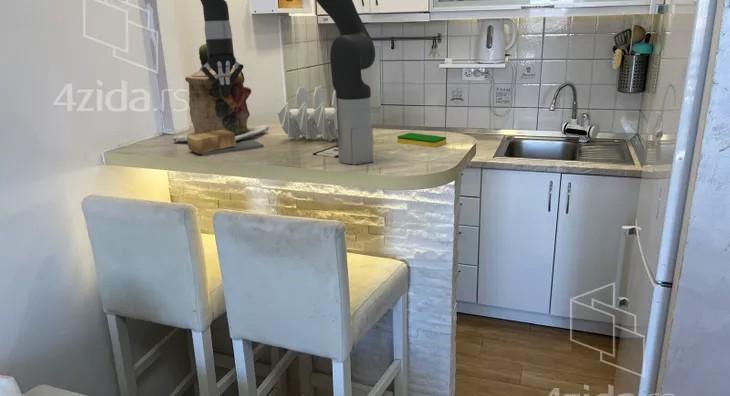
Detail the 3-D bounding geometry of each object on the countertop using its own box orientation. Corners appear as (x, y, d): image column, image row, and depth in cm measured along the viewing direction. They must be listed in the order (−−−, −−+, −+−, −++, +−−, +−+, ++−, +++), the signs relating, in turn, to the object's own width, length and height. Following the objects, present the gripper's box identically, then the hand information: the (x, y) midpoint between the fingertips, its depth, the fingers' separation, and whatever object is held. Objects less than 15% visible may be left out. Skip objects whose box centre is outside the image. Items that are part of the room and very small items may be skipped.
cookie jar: (169, 142, 179) (155, 40, 170) (212, 129, 201) (201, 39, 192) (235, 144, 171) (224, 37, 162) (272, 130, 194) (264, 36, 185)
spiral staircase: (296, 148, 186) (366, 147, 179) (273, 135, 170) (349, 133, 162) (300, 96, 189) (369, 93, 181) (277, 78, 172) (353, 74, 165)
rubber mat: (263, 147, 170) (263, 144, 170) (202, 155, 161) (202, 153, 161) (253, 142, 178) (253, 139, 178) (194, 149, 169) (194, 147, 169)
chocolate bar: (372, 144, 168) (338, 156, 154) (372, 147, 168) (338, 159, 154) (348, 141, 173) (312, 153, 158) (348, 144, 173) (312, 156, 159)
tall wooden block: (223, 129, 172) (186, 136, 165) (234, 132, 166) (195, 140, 159) (225, 141, 173) (188, 149, 167) (236, 145, 167) (198, 153, 161)
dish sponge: (409, 139, 178) (409, 132, 177) (446, 144, 169) (446, 137, 168) (396, 143, 172) (396, 136, 172) (434, 149, 164) (434, 141, 163)
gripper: (237, 36, 166) (242, 94, 171) (192, 38, 160) (200, 98, 165) (244, 36, 160) (250, 96, 165) (199, 38, 154) (206, 100, 159)
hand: (225, 97), depth 165 cm, fingers closed
